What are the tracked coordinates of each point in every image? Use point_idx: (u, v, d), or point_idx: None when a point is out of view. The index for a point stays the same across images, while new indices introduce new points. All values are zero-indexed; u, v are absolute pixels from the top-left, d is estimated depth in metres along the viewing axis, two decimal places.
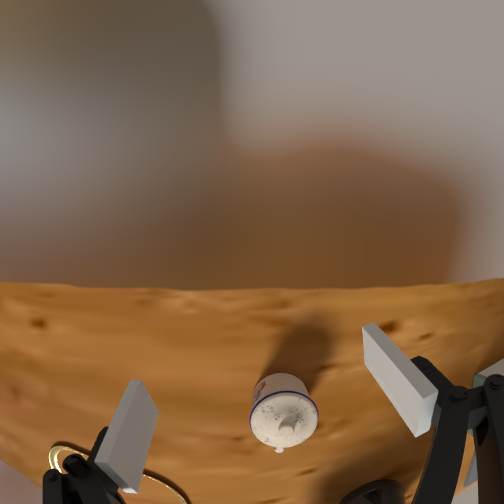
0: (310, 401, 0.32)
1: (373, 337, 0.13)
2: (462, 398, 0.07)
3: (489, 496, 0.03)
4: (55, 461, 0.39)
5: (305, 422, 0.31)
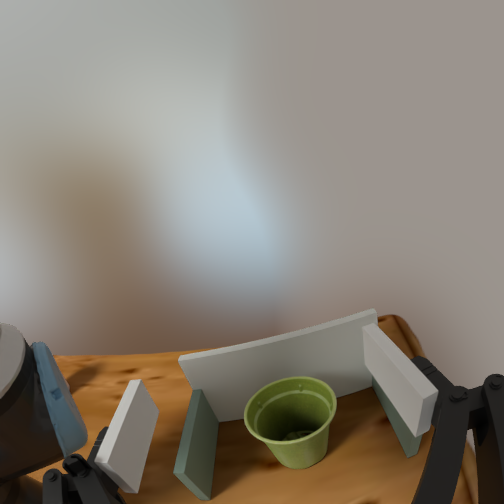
0: None
1: (373, 337, 0.13)
2: (463, 398, 0.07)
3: (489, 496, 0.03)
4: None
5: None
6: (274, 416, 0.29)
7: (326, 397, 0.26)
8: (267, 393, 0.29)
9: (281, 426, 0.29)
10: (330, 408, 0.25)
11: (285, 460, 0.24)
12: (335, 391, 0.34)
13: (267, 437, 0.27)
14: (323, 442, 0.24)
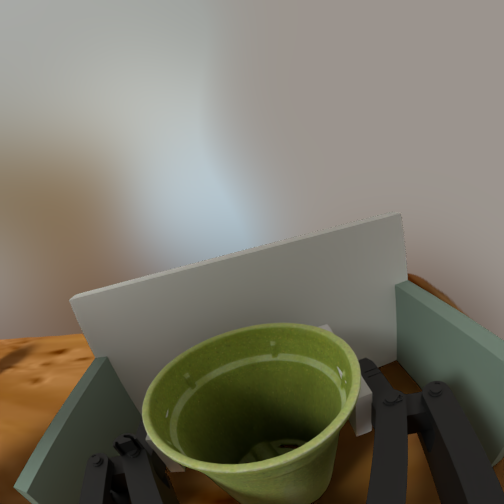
0: None
1: None
2: (397, 401, 0.09)
3: (451, 499, 0.04)
4: None
5: None
6: (223, 409, 0.15)
7: (331, 361, 0.13)
8: (206, 358, 0.15)
9: (239, 430, 0.15)
10: (342, 384, 0.11)
11: (243, 501, 0.10)
12: None
13: (208, 450, 0.13)
14: (328, 463, 0.10)
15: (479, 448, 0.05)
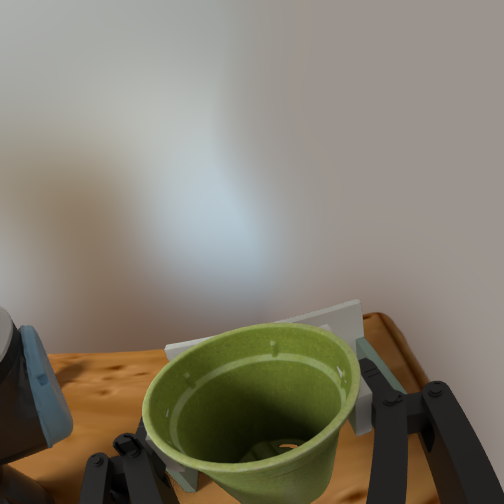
0: None
1: None
2: (397, 401, 0.09)
3: (451, 499, 0.04)
4: None
5: None
6: (223, 408, 0.15)
7: (331, 361, 0.13)
8: (206, 357, 0.15)
9: (239, 430, 0.15)
10: (341, 384, 0.11)
11: (243, 500, 0.10)
12: None
13: (208, 450, 0.13)
14: (328, 463, 0.10)
15: (478, 448, 0.05)
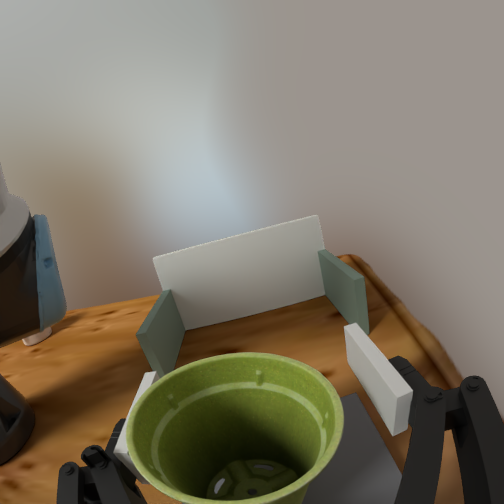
0: None
1: (353, 336, 0.14)
2: (438, 398, 0.08)
3: (475, 496, 0.04)
4: None
5: None
6: (203, 429, 0.14)
7: (314, 400, 0.12)
8: (190, 380, 0.14)
9: (217, 449, 0.15)
10: (323, 424, 0.11)
11: None
12: (290, 296, 0.42)
13: (185, 467, 0.12)
14: (302, 494, 0.09)
15: None
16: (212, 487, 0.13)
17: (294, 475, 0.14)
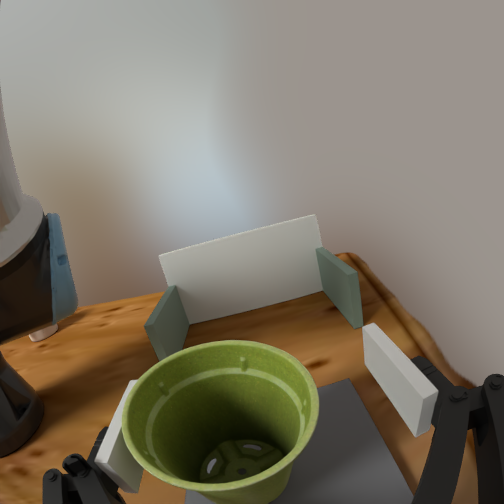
0: None
1: (373, 337, 0.13)
2: (463, 398, 0.07)
3: (489, 496, 0.03)
4: None
5: None
6: (193, 412, 0.16)
7: (295, 386, 0.13)
8: (179, 368, 0.15)
9: (208, 430, 0.16)
10: (302, 410, 0.12)
11: (209, 499, 0.11)
12: (289, 291, 0.44)
13: (178, 450, 0.14)
14: (284, 475, 0.11)
15: None
16: (205, 467, 0.15)
17: (281, 454, 0.15)
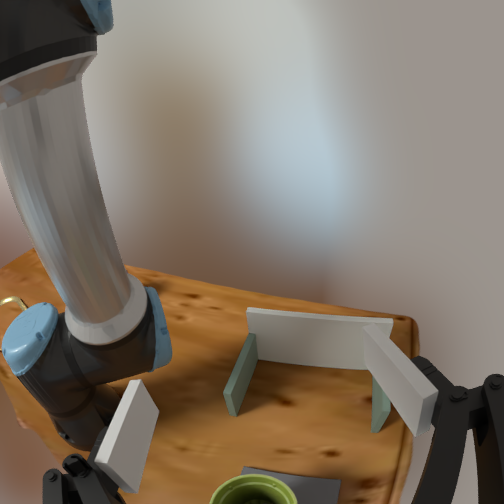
0: (126, 272, 0.69)
1: (373, 337, 0.13)
2: (463, 398, 0.07)
3: (489, 496, 0.03)
4: None
5: None
6: (242, 492, 0.25)
7: None
8: (241, 481, 0.24)
9: (247, 496, 0.26)
10: None
11: None
12: (346, 364, 0.47)
13: None
14: None
15: None
16: None
17: None
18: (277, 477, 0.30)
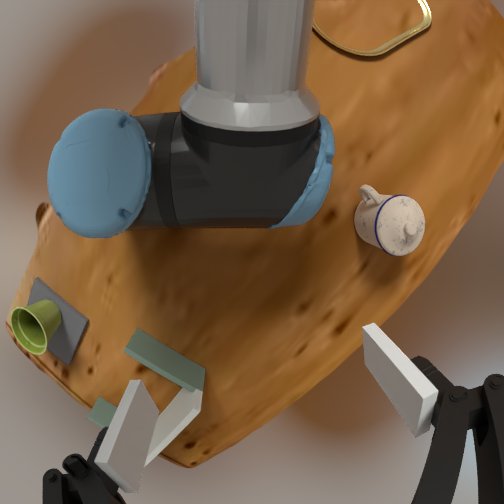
0: (399, 255, 0.38)
1: (373, 337, 0.13)
2: (463, 398, 0.07)
3: (489, 496, 0.03)
4: None
5: (396, 241, 0.37)
6: None
7: (33, 346, 0.39)
8: None
9: None
10: (28, 341, 0.39)
11: None
12: (158, 419, 0.51)
13: (46, 308, 0.41)
14: (29, 323, 0.41)
15: None
16: (55, 306, 0.44)
17: None
18: (76, 337, 0.46)
